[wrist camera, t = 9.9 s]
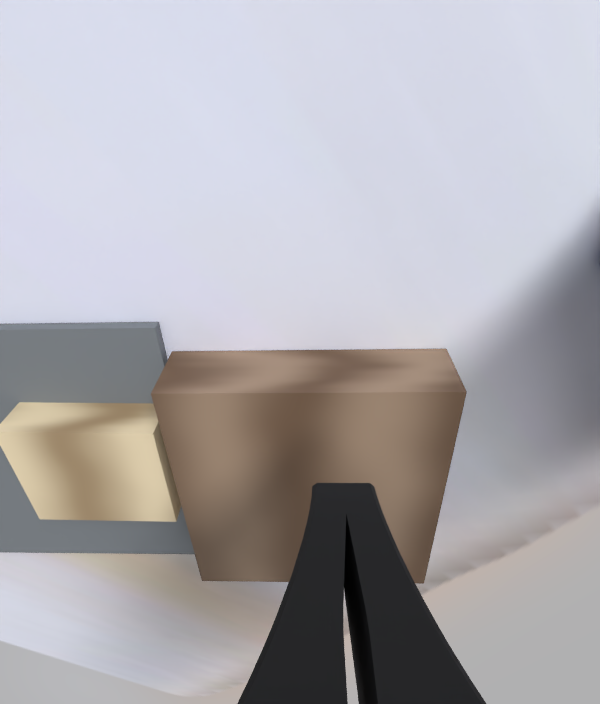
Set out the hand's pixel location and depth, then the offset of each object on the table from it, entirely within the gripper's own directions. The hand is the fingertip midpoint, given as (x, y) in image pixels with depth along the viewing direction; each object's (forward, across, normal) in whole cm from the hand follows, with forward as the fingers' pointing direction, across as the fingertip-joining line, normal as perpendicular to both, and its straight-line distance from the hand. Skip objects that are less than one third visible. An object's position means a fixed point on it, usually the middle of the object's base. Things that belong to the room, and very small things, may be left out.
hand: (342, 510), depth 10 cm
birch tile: (+9, +11, +7) cm, 16 cm away
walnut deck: (+9, +1, +8) cm, 12 cm away
